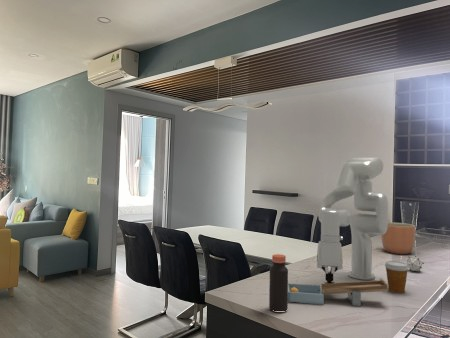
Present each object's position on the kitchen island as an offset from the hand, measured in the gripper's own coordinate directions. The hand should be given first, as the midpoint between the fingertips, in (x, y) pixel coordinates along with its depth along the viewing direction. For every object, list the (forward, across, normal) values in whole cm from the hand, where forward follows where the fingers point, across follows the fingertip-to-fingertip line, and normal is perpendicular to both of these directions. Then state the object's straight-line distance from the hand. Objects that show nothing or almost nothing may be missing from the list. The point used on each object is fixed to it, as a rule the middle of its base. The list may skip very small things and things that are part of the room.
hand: (329, 282), depth 145 cm
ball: (+3, +15, +7) cm, 17 cm away
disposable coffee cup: (+5, -30, -11) cm, 33 cm away
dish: (+5, +11, +7) cm, 14 cm away
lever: (+1, -9, +4) cm, 10 cm away
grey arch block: (+5, -9, +7) cm, 12 cm away
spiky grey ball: (+4, -51, -47) cm, 70 cm away
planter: (+3, -59, -96) cm, 113 cm away
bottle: (+6, +21, +21) cm, 31 cm away
